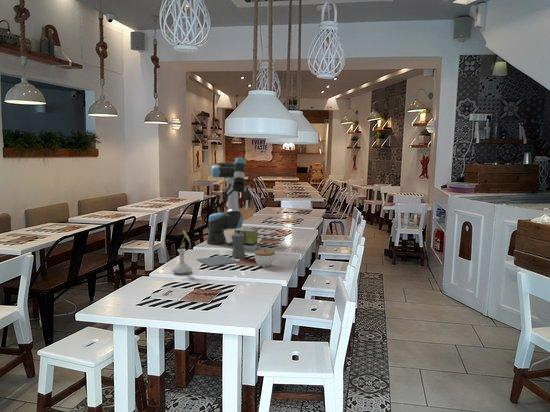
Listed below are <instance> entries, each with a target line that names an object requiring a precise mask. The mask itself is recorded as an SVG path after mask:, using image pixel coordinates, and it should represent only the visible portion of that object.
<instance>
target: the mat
mask: <svg viewBox="0 0 550 412" xmlns="http://www.w3.org/2000/svg"><path fill="white" fill-rule="evenodd" d="M196 261H198V262H200V263H201V264H204V265H205V266H208V267H210V268H212V267H217V266H224V265H231V264H236V263H239V261H238V260H236V259H234V258H231V257H229V256H227V255H224V254H223V255H216V256H210V257H203V258H196Z"/></svg>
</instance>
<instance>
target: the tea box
mask: <svg viewBox="0 0 550 412" xmlns="http://www.w3.org/2000/svg"><path fill="white" fill-rule="evenodd" d="M233 230H234V233H233V234H237V233H238V232H237V231H240V232H239V233H240V234H241V233H245V234H246V238H245V243H244V245H243V247H244V251H254V250H255V251H256V249H258V228H247V227H241V228H238V229H233Z"/></svg>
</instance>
